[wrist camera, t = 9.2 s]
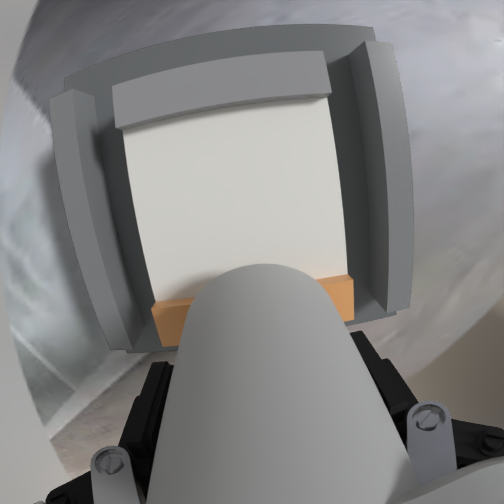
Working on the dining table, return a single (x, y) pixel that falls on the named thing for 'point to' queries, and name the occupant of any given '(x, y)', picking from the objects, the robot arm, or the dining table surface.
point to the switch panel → (347, 151)
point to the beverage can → (273, 402)
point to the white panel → (233, 176)
